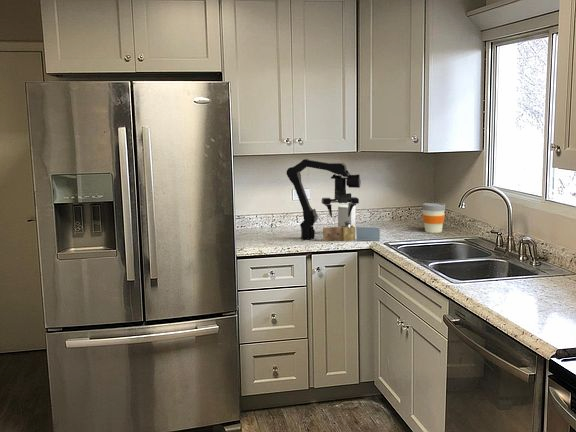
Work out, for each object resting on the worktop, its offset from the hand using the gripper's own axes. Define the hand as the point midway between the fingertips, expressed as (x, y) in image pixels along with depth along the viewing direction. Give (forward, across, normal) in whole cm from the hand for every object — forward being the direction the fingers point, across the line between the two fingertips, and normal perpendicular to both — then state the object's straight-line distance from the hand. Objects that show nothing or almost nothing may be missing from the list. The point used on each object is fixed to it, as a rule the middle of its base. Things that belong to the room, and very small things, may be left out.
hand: (339, 217), depth 323 cm
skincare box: (+12, +7, +14) cm, 20 cm away
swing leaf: (+11, +14, -7) cm, 19 cm away
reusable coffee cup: (+11, +55, +10) cm, 57 cm away
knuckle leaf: (+12, -1, -2) cm, 12 cm away
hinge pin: (+12, +4, -2) cm, 13 cm away
